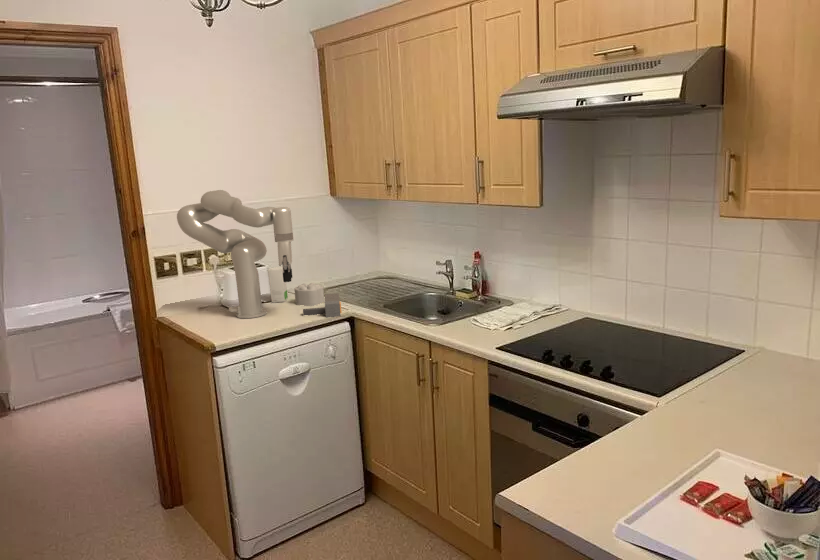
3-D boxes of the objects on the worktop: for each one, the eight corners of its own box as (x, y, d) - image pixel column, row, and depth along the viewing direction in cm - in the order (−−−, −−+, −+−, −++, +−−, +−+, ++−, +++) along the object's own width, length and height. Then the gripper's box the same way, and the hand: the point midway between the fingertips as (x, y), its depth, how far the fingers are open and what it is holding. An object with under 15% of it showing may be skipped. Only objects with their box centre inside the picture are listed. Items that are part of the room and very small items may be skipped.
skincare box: (284, 302, 299) (281, 269, 296) (270, 303, 299) (267, 270, 296) (288, 298, 308) (285, 265, 304) (274, 298, 308) (271, 266, 305)
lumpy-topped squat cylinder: (314, 306, 288) (313, 287, 286) (290, 305, 293) (288, 286, 292) (327, 301, 297) (325, 282, 295) (303, 299, 303) (301, 281, 301)
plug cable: (303, 316, 272) (302, 306, 271) (303, 314, 276) (302, 304, 275) (341, 313, 273) (340, 303, 273) (341, 310, 277) (340, 301, 276)
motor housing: (326, 317, 268) (324, 301, 266) (326, 309, 281) (325, 294, 280) (340, 316, 268) (339, 300, 267) (340, 308, 282) (338, 293, 281)
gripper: (276, 235, 274) (280, 276, 278) (272, 241, 258) (277, 285, 261) (294, 234, 275) (298, 275, 279) (291, 239, 258) (296, 283, 262)
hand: (288, 279), depth 270 cm, fingers open, 6 cm apart
